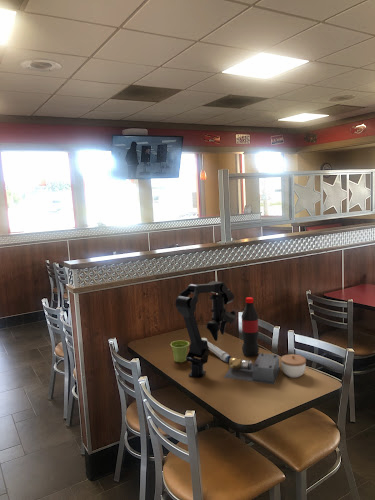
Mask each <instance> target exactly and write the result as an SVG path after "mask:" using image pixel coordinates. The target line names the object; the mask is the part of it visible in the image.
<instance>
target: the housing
mask: <svg viewBox="0 0 375 500" xmlns="http://www.w3.org/2000/svg"><path fill="white" fill-rule="evenodd" d="M257 355H258V356H257V357H256V359H255V361H254V363H253V364H254V365H253V366H252V370H253V380H254V381H261V382H268V383H274V380H275V378H276V375H277V372H278V370H279V367H280V355H279V354H273V353H264V352H263V353H262V352H258V354H257ZM279 371H280V370H279ZM276 379H277V378H276Z"/></svg>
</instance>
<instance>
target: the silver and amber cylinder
mask: <svg viewBox="0 0 375 500" xmlns="http://www.w3.org/2000/svg"><path fill="white" fill-rule="evenodd" d="M252 364H253V361H252V360H247V359H246V360H245V359H243V358H241V357H240V358H238V357H232V358H230V360H229V362H228V368H229V369H238V370H241V369H247V370H251V369H252Z"/></svg>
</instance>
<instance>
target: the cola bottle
mask: <svg viewBox="0 0 375 500" xmlns="http://www.w3.org/2000/svg"><path fill="white" fill-rule="evenodd" d="M254 301H255V300H254V298H253V297H249V296H247V297H245V307H244V309H243V312H242V314H241V334H242V335H241V336H242V341H243V344H242V346H241V350H242V354H243V356H246V357H250V358H251V357H256V356H257V355H259V353H260V352H259V351H260V348H259V345H258V344H259V343H258V339H259V315H258V313H257V310H256V308H255V306H254Z"/></svg>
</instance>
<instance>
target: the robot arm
mask: <svg viewBox="0 0 375 500" xmlns="http://www.w3.org/2000/svg"><path fill="white" fill-rule="evenodd" d="M204 293H205V294H207V293H212V294H211V296H210V297H209V300H211V302H212V308H211V312H212V317H211V320H209V321H208V322H207V323H206V325H205V327H206V329H207V330H208V331H209V333H210V334H211V336H212V338H213V339H214V341H215V342H218V339H219V331H220V335H223V336H224V335H225V329H226V325H227V324H228V323H229V324H231V325H233V323H235V322H236V318H237V314H236V311H235V310H231V311H227V309H226V307H225V305H228V304H230V303H233V301H234V300H235V295H234V293H233V292H232V291H231V289H230V288H228V287H227V285H226V283H225V282H223V281H215V280H212V281H210V282H208V283H201V284H200V283H198V284H197V283H196V284H193V283H190V284H189V285H188V286H187V288H185V289H184V290H183V291H181V292H180V293H179V294H178V296H177V298H176V299H175V302H174V304H175V307H176V310H177V312H178V313H180V315H182V316H183V317H182V318H183V320H184V323H185V327H186V330H187V333H188V337H189V341H190V342H189V345H188V349H189V351H187V356H186V362H189V363H190V373H189V374H188V377H189V378H190V377H191V378H196V379H197V378H198V379H201V378H203V377H204V376H205V375H206V373H207V371H206V370H205V369H204V365H205V364H206V363H208V360H209V354H210V352H209V351H210V350H209V349H208V348H209V347H208V344H207V341H206V340H202V339H201V338H202V337H201V333H200V330H199V327H198V323H197V319H196V315H195V311H196V309H197V306H196V305H197V304H198V301H199V295H200V294H204ZM191 294H193V296H192V297H191V296H190V295H191Z"/></svg>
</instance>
